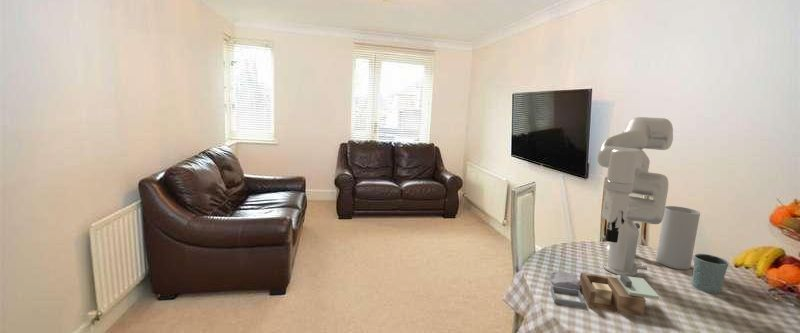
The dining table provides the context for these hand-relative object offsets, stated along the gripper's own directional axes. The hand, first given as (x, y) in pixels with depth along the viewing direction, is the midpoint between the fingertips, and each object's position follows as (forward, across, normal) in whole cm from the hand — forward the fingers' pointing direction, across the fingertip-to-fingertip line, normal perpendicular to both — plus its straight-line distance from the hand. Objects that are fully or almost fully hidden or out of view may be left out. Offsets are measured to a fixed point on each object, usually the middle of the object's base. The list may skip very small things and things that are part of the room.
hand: (611, 241), depth 124 cm
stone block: (+23, -10, -11) cm, 27 cm away
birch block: (+21, 0, -1) cm, 21 cm away
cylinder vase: (+22, -51, +41) cm, 69 cm away
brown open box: (+22, -1, +2) cm, 22 cm away
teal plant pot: (+22, -28, +43) cm, 56 cm away
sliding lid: (+16, -2, +10) cm, 19 cm away
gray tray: (+22, +2, -12) cm, 25 cm away
